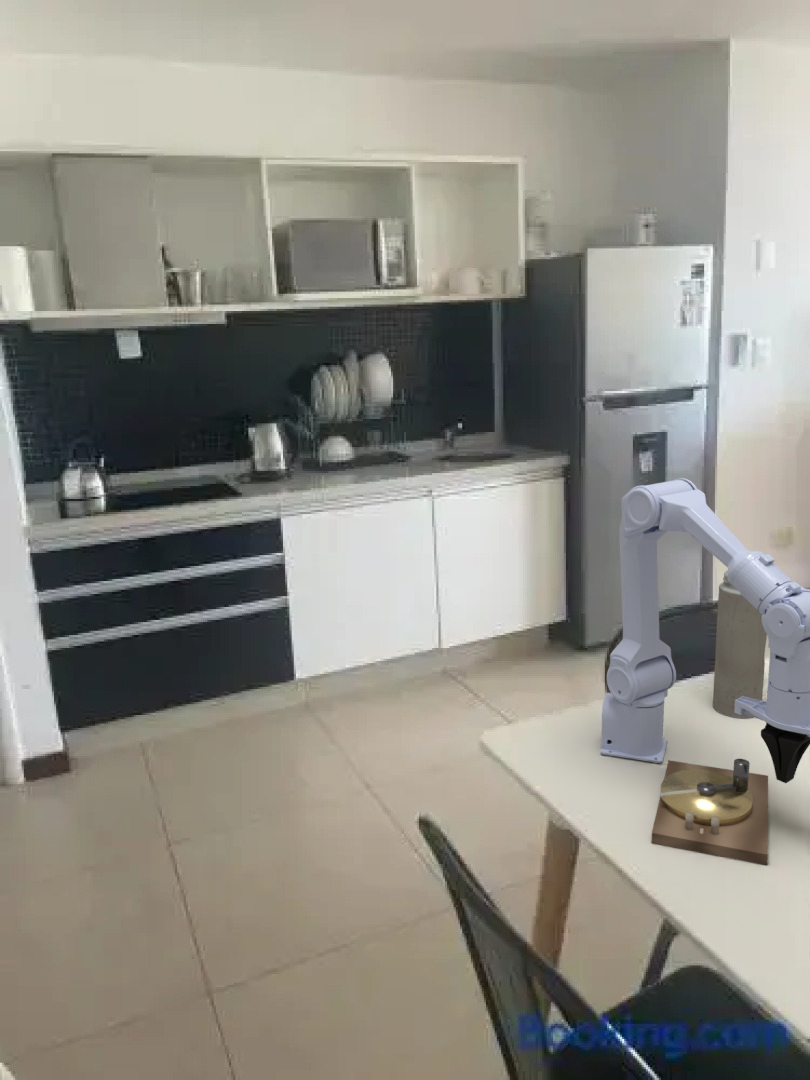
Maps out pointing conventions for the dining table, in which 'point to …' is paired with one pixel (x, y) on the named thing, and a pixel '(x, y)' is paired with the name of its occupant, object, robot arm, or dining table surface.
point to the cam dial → (709, 794)
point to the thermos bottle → (737, 651)
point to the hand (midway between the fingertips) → (785, 778)
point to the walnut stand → (713, 839)
